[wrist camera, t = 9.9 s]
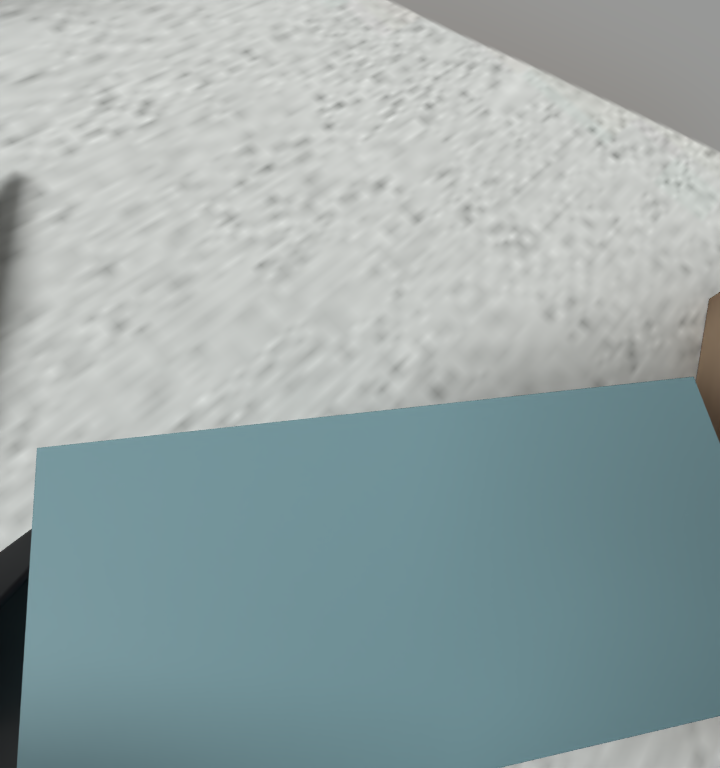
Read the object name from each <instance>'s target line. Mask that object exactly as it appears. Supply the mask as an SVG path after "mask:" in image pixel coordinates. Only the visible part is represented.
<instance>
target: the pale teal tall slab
mask: <svg viewBox="0 0 720 768" xmlns="http://www.w3.org/2000/svg"><path fill="white" fill-rule="evenodd" d="M717 716H720V443H719V440H718V437H717V435H716V432H715V430H714V427H713V425H712V422H711V420H710V417H709V415H708V412H707V410H706V407H705V404H704V402H703V399H702V397H701V394H700V392H699V389H698V387H697V384H696V382H695V379H694V377H686V378H677V379H668V380H659V381H649V382H640V383H631V384H622V385H613V386H603V387H594V388H585V389H576V390H567V391H557V392H548V393H539V394H530V395H521V396H511V397H502V398H493V399H484V400H475V401H465V402H456V403H447V404H438V405H429V406H419V407H410V408H401V409H392V410H383V411H373V412H364V413H355V414H346V415H337V416H327V417H318V418H309V419H300V420H291V421H282V422H272V423H263V424H254V425H245V426H236V427H226V428H217V429H208V430H199V431H190V432H180V433H171V434H162V435H153V436H144V437H134V438H125V439H116V440H107V441H98V442H88V443H79V444H70V445H61V446H52V447H42V448H37V458H36V473H35V489H34V505H33V521H32V536H31V552H30V568H29V583H28V599H27V615H26V631H25V646H24V662H23V678H22V694H21V709H20V725H19V741H18V757H17V768H501V767H505V766H509V765H513V764H518V763H522V762H526V761H530V760H535V759H539V758H543V757H547V756H552V755H556V754H560V753H564V752H569V751H573V750H577V749H581V748H586V747H590V746H594V745H598V744H603V743H607V742H611V741H615V740H620V739H624V738H628V737H632V736H637V735H641V734H645V733H649V732H654V731H658V730H662V729H666V728H670V727H675V726H679V725H683V724H687V723H692V722H696V721H700V720H704V719H709V718H713V717H717Z"/></svg>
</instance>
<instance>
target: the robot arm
mask: <svg viewBox="0 0 720 768" xmlns="http://www.w3.org/2000/svg"><path fill="white" fill-rule="evenodd" d="M31 536H32V529H31V530H29V531H28V532H27V533H25V534H24V535H23V536H21V537H20V538H19V539H17V540H16V541H14V542H13V543H12V544H10V545H9V546H8V547H6V548H5V549H4V550H2V551H1V552H0V768H17V757H18V741H19V725H20V709H21V694H22V678H23V662H24V646H25V631H26V615H27V599H28V583H29V568H30V552H31Z"/></svg>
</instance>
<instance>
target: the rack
mask: <svg viewBox="0 0 720 768" xmlns="http://www.w3.org/2000/svg"><path fill="white" fill-rule="evenodd" d="M696 384H697V387H698V389H699V392H700V394H701V397H702V399H703V402H704V404H705V407H706V410H707V412H708V415H709V417H710V420H711V422H712V425H713V427H714V430H715V432H716V435H717V437H718V440H719V443H720V292H719V293H718V294H716V295H715V296H713V297H712V298H710V299H709V304H708V310H707V316H706V322H705V328H704V335H703V341H702V347H701V353H700V360H699V366H698V372H697V378H696Z"/></svg>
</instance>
